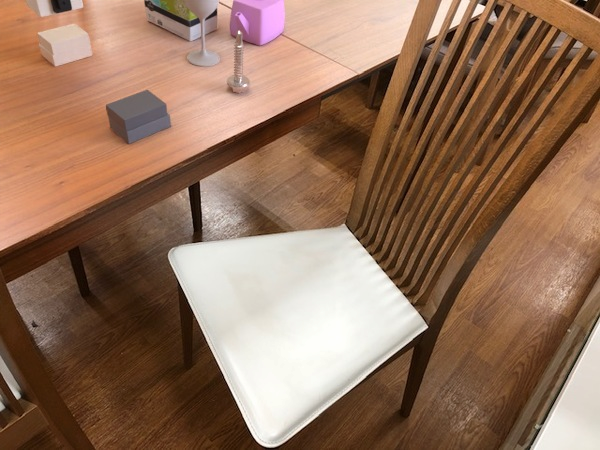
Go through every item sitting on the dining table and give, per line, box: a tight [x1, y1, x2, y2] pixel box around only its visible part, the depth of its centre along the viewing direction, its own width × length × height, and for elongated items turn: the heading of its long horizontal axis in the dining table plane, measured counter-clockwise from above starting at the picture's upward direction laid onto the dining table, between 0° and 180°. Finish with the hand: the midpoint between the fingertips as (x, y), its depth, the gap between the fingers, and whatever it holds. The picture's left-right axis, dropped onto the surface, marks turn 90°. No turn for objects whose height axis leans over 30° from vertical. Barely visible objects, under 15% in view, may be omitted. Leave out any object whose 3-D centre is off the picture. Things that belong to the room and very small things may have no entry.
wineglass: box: [184, 0, 221, 68], centre depth 107 cm, size 8×8×21 cm
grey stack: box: [105, 89, 172, 145], centre depth 93 cm, size 9×6×5 cm
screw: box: [226, 30, 251, 94], centre depth 102 cm, size 13×5×5 cm
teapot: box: [229, 0, 286, 46], centre depth 122 cm, size 18×10×10 cm, turn 150°
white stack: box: [36, 23, 93, 67], centre depth 108 cm, size 8×6×5 cm
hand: (54, 3), depth 92 cm, fingers closed on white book, 5 cm apart
